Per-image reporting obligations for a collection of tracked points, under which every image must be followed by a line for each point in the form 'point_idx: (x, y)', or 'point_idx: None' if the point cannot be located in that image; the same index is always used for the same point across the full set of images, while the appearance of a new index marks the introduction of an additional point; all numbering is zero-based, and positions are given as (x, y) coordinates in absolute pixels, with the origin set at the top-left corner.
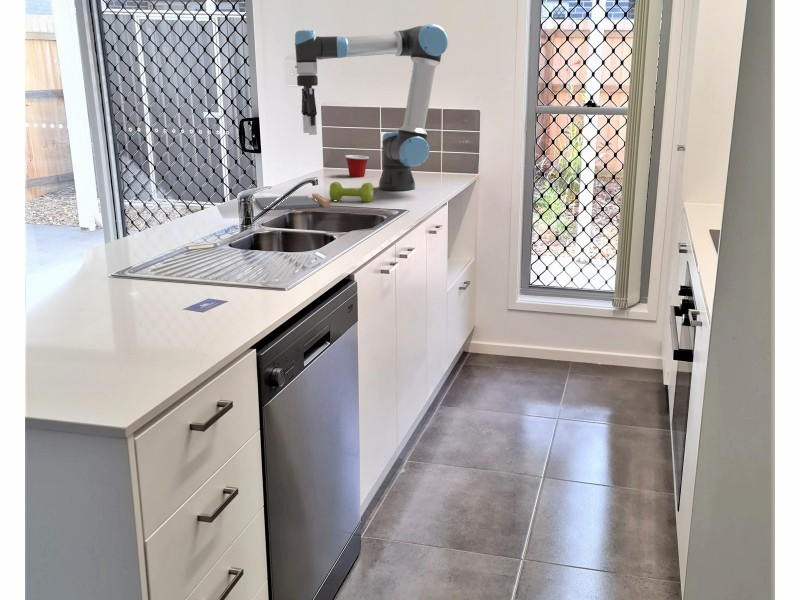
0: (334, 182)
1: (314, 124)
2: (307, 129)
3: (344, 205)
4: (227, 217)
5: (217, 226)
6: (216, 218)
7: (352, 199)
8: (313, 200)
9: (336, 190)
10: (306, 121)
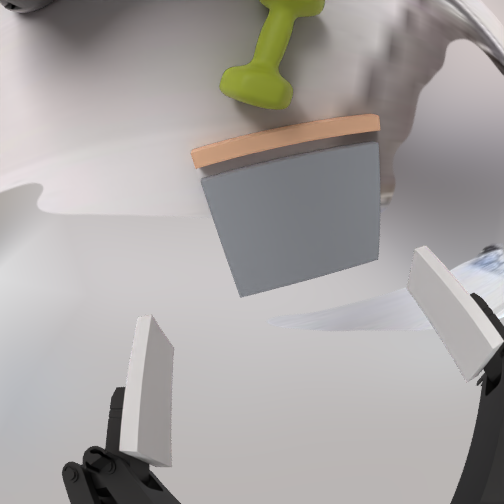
0: (266, 92)
1: (477, 299)
2: (160, 351)
3: (352, 72)
4: None
5: (466, 280)
6: None
7: (224, 40)
8: (311, 154)
9: (291, 86)
10: (158, 411)
